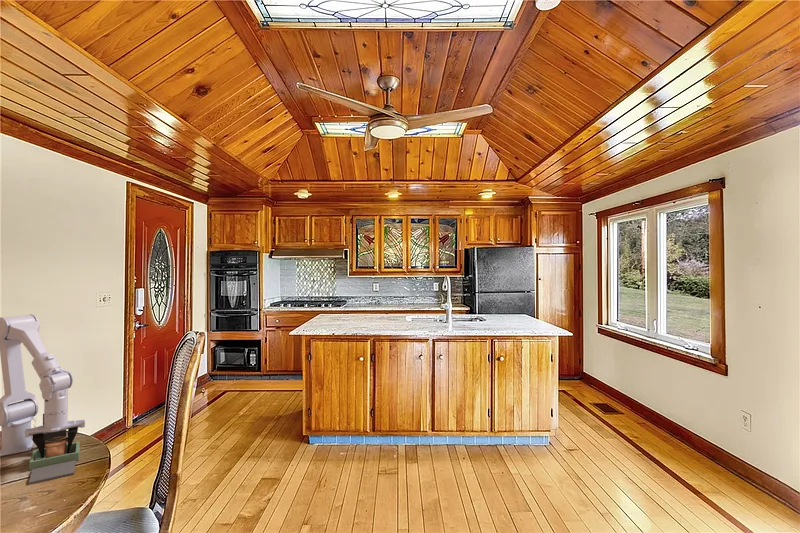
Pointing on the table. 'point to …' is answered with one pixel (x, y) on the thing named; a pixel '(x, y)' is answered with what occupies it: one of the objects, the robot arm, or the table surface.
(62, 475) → the slate mat
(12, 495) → the table surface
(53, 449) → the terracotta pot
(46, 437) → the phone stand
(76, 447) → the frame
